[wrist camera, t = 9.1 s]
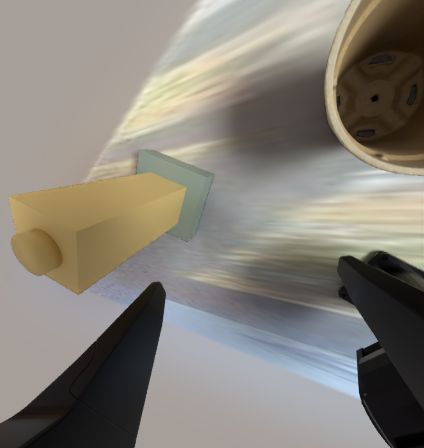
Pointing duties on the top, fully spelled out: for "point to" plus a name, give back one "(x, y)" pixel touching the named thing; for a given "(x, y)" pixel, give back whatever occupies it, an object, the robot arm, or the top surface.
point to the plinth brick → (187, 177)
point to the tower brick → (92, 226)
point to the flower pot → (379, 84)
